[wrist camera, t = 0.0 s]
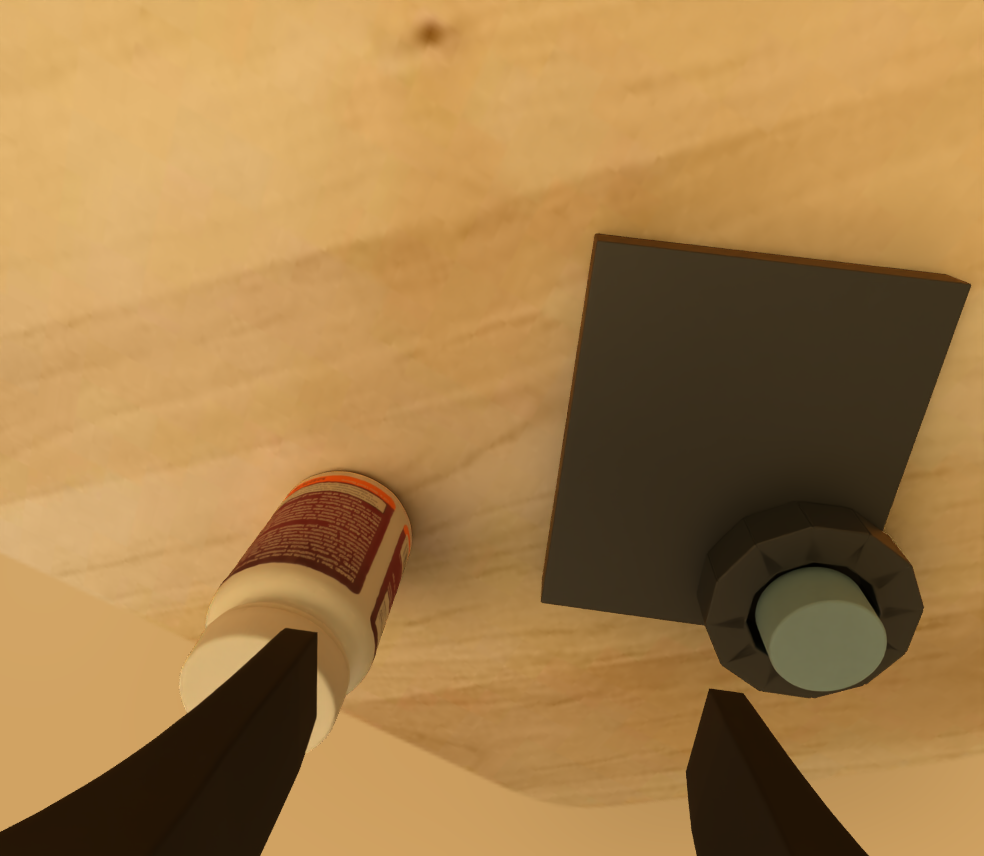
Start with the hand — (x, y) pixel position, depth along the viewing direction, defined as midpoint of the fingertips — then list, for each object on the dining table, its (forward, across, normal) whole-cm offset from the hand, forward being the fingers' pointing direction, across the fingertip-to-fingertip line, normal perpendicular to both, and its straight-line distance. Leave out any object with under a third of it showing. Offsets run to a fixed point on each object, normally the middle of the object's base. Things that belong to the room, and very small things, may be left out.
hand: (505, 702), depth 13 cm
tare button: (+9, -9, +3) cm, 13 cm away
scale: (+11, -6, -1) cm, 13 cm away
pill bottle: (+12, +6, +4) cm, 14 cm away
